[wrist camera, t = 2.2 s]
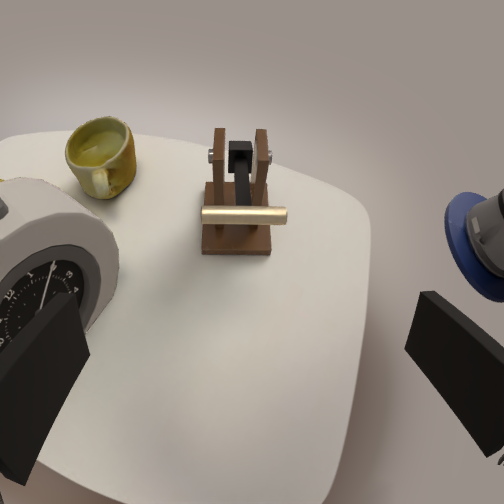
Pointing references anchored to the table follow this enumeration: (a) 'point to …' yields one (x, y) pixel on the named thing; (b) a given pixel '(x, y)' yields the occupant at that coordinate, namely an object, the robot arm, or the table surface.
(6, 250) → the alarm clock
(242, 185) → the switch lever
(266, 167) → the wooden lever stand
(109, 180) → the mug
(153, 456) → the table surface
